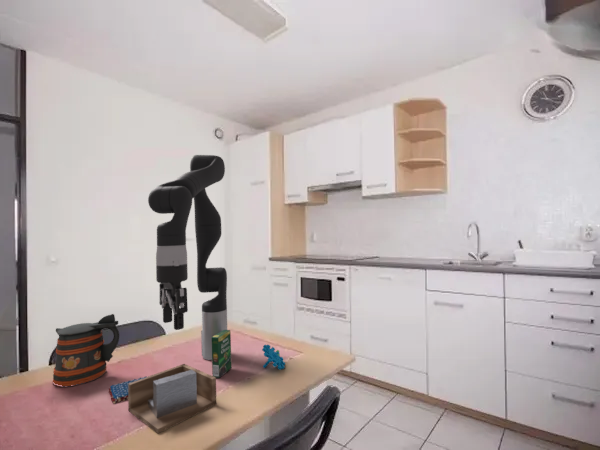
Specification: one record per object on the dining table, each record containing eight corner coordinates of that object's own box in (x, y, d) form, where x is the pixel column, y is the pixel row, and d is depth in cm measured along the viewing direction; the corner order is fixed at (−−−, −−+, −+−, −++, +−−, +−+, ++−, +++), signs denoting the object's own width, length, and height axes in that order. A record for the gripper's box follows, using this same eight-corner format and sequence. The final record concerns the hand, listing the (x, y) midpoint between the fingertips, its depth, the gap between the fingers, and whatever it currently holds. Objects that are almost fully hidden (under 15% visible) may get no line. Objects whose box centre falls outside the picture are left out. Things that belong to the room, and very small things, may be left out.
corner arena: (128, 410, 83) (128, 383, 84) (184, 387, 96) (184, 363, 96) (157, 433, 73) (157, 402, 73) (216, 403, 86) (215, 377, 86)
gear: (281, 370, 102) (261, 346, 105) (268, 383, 102) (248, 358, 105) (290, 361, 113) (271, 340, 115) (279, 373, 113) (260, 351, 116)
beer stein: (125, 363, 116) (124, 308, 116) (115, 380, 102) (114, 317, 103) (63, 371, 110) (63, 313, 111) (44, 391, 96) (43, 324, 97)
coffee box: (219, 378, 101) (218, 337, 101) (211, 378, 102) (210, 336, 102) (232, 368, 108) (231, 329, 109) (224, 367, 109) (224, 329, 110)
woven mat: (107, 392, 95) (107, 385, 95) (146, 381, 102) (146, 375, 102) (111, 406, 87) (111, 398, 87) (153, 394, 93) (153, 386, 93)
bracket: (156, 418, 78) (156, 385, 78) (147, 405, 84) (147, 374, 84) (196, 403, 84) (196, 372, 84) (185, 392, 90) (185, 364, 90)
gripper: (148, 262, 86) (149, 323, 86) (165, 266, 75) (167, 335, 75) (177, 260, 91) (178, 317, 90) (196, 263, 80) (198, 328, 79)
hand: (173, 325), depth 82 cm, fingers open, 8 cm apart
